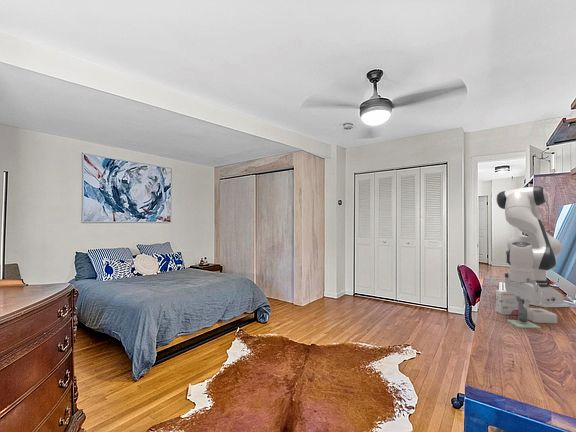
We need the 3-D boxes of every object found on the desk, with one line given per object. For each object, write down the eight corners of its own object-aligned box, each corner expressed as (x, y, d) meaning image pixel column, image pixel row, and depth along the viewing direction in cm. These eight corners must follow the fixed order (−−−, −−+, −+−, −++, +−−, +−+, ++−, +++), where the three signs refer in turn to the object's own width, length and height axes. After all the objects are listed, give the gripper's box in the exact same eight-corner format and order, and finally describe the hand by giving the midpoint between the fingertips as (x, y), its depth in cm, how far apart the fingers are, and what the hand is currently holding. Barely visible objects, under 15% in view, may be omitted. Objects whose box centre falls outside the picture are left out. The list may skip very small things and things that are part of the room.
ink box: (513, 312, 153) (512, 289, 153) (519, 315, 148) (519, 292, 149) (495, 311, 154) (495, 289, 154) (501, 314, 149) (501, 291, 149)
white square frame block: (541, 316, 146) (541, 308, 146) (557, 323, 136) (557, 314, 136) (520, 315, 147) (519, 307, 148) (533, 322, 138) (533, 313, 138)
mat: (527, 321, 138) (527, 320, 138) (540, 328, 130) (540, 327, 130) (506, 321, 140) (506, 319, 140) (518, 327, 131) (518, 326, 131)
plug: (524, 320, 136) (523, 298, 136) (529, 322, 133) (528, 300, 133) (516, 319, 137) (516, 298, 137) (521, 322, 133) (520, 300, 134)
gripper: (545, 281, 124) (546, 314, 124) (515, 273, 145) (516, 301, 144) (529, 281, 125) (530, 313, 125) (501, 273, 146) (502, 300, 145)
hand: (522, 306), depth 135 cm, fingers open, 3 cm apart
